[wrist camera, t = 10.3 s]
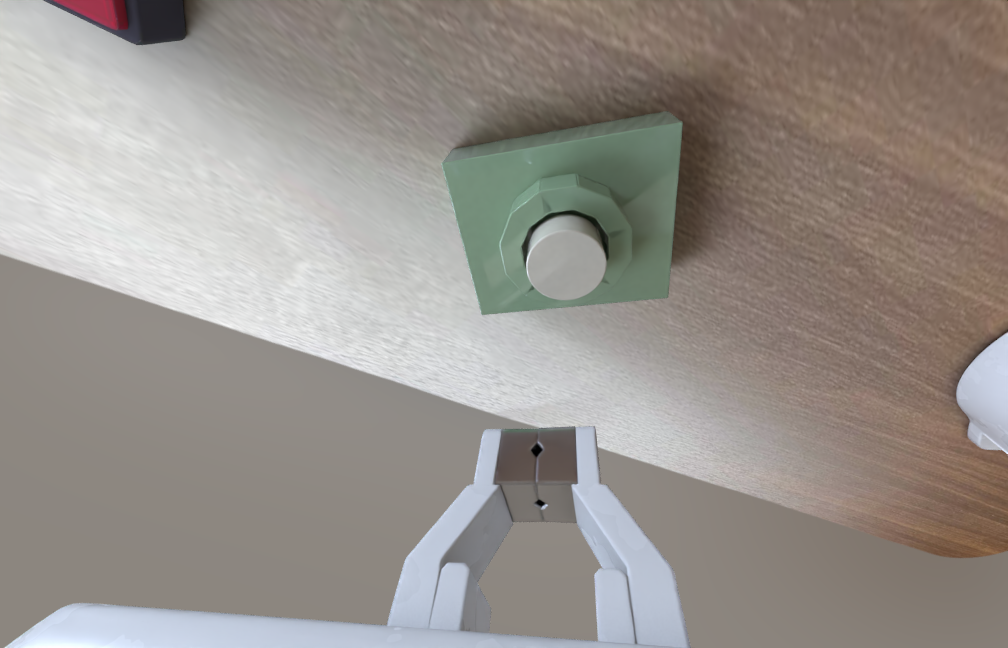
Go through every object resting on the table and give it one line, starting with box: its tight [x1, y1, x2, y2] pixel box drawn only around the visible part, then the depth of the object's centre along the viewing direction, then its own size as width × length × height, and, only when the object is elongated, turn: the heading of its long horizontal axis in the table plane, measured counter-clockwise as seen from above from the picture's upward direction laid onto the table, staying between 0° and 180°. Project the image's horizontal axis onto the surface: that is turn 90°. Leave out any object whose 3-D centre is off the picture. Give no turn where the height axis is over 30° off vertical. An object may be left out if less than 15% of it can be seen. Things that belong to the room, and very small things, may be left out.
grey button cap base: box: [442, 111, 683, 315], centre depth 23 cm, size 12×10×5 cm
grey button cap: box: [526, 214, 607, 300], centre depth 20 cm, size 4×4×2 cm
